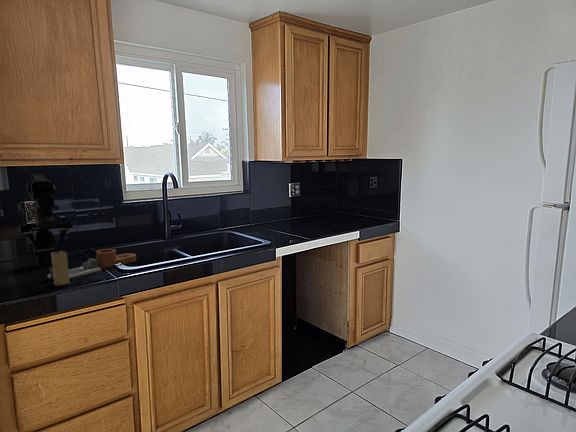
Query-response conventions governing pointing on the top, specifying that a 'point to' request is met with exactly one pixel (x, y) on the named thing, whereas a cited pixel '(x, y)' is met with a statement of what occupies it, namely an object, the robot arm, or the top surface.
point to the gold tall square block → (60, 268)
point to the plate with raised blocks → (81, 269)
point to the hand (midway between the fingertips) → (48, 248)
